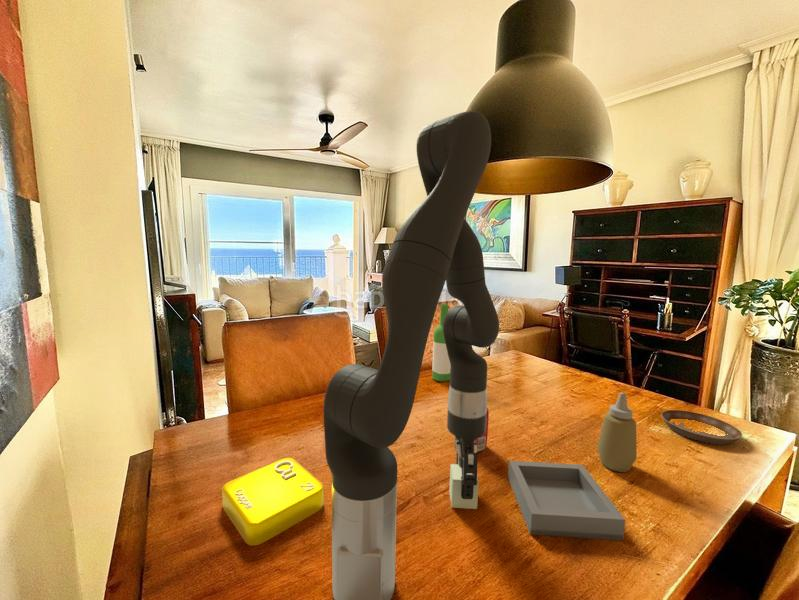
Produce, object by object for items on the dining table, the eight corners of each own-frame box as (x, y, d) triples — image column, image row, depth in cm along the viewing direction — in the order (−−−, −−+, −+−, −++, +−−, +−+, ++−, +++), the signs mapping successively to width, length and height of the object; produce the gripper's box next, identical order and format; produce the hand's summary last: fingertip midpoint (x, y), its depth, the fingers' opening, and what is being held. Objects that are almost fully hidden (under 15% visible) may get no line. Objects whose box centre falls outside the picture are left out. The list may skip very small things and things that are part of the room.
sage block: (477, 509, 68) (478, 480, 67) (451, 507, 68) (452, 479, 67) (473, 492, 73) (474, 465, 72) (449, 490, 73) (450, 464, 72)
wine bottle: (441, 374, 144) (444, 302, 140) (455, 379, 138) (458, 305, 134) (427, 378, 139) (430, 304, 135) (442, 383, 133) (445, 306, 129)
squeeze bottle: (587, 459, 85) (594, 389, 83) (611, 453, 88) (618, 385, 86) (618, 479, 78) (627, 402, 76) (643, 472, 81) (652, 398, 78)
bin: (622, 540, 61) (625, 519, 60) (530, 534, 62) (531, 513, 61) (581, 481, 77) (582, 464, 76) (507, 477, 78) (508, 460, 77)
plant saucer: (672, 413, 113) (673, 404, 112) (748, 437, 98) (749, 427, 98) (650, 428, 103) (651, 418, 102) (730, 457, 88) (732, 446, 88)
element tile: (219, 505, 68) (218, 482, 67) (290, 472, 78) (290, 452, 78) (250, 552, 57) (249, 526, 57) (327, 507, 68) (327, 484, 67)
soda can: (467, 436, 95) (469, 394, 93) (491, 446, 90) (494, 402, 89) (453, 447, 89) (455, 402, 88) (479, 457, 85) (481, 411, 83)
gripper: (494, 426, 61) (489, 509, 63) (479, 393, 75) (476, 462, 77) (451, 425, 61) (448, 507, 64) (445, 392, 75) (442, 461, 78)
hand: (463, 483), depth 70 cm, fingers open, 8 cm apart
